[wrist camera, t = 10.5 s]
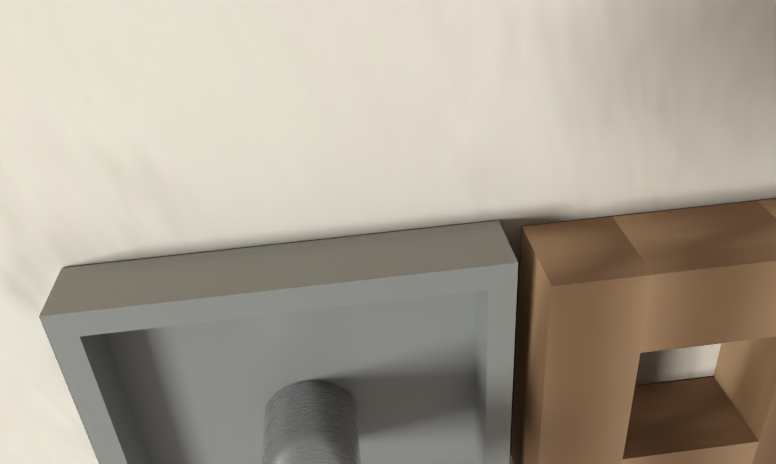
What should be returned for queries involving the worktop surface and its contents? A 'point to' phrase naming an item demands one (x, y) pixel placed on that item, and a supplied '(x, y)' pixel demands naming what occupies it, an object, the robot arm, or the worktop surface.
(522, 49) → the worktop surface
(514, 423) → the block
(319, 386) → the pin
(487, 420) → the tray
